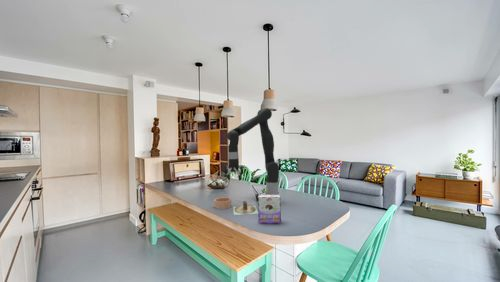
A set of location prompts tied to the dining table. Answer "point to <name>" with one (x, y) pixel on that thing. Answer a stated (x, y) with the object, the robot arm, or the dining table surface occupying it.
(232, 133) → the robot arm
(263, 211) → the candy box
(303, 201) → the dining table surface
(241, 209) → the lid
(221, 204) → the bowl
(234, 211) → the mat
